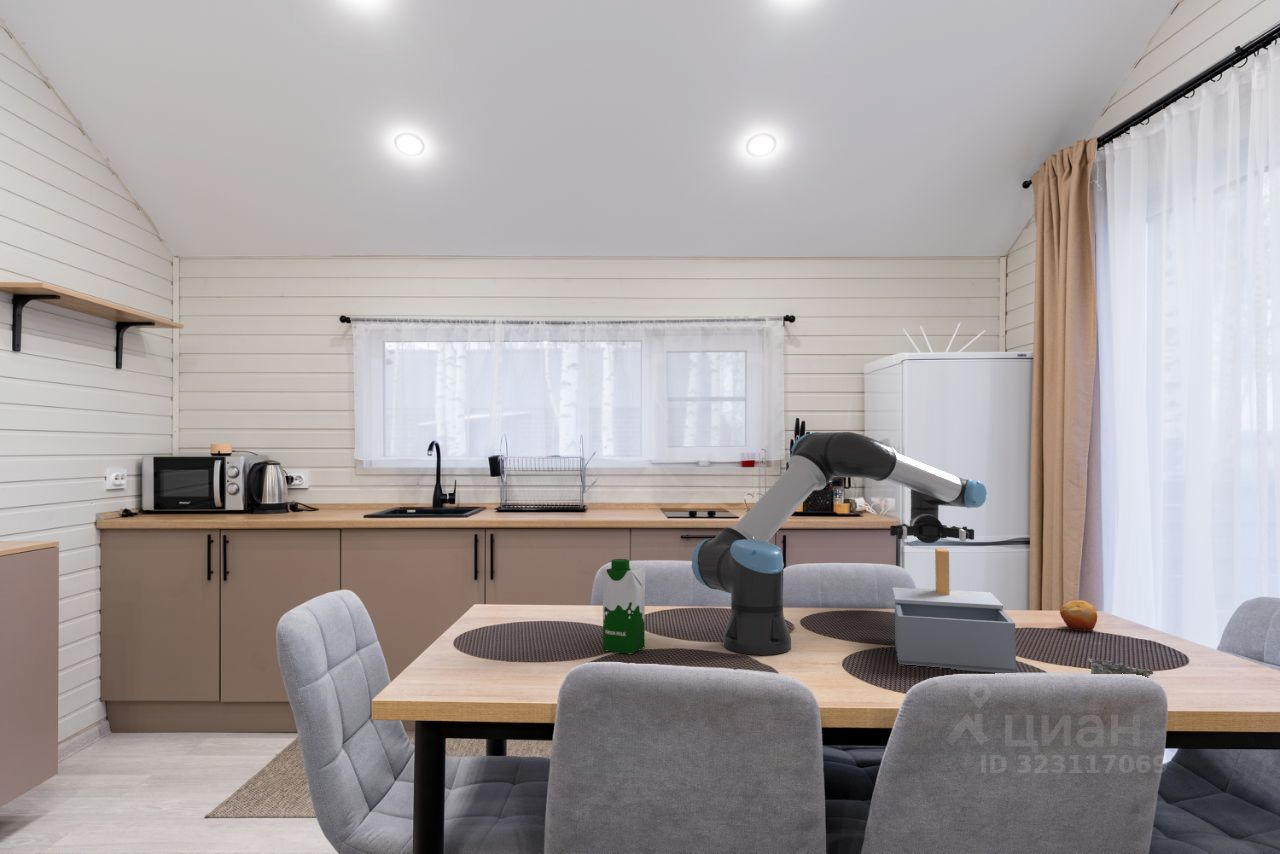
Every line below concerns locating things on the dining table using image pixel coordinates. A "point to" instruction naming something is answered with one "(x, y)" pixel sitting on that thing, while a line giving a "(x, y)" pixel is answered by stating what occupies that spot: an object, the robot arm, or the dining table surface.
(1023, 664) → the dining table surface
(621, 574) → the milk carton
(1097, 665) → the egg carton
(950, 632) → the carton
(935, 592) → the box lid with handle
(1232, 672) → the dining table surface
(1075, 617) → the fruit
